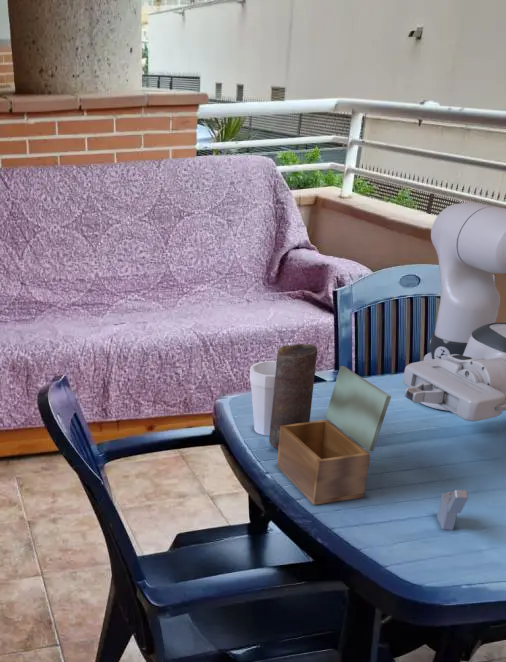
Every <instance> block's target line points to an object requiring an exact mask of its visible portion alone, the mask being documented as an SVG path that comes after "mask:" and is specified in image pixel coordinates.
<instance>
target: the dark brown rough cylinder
mask: <svg viewBox="0 0 506 662" xmlns="http://www.w3.org/2000/svg"><path fill="white" fill-rule="evenodd" d="M318 350H319V349H318V347H317V346H315V345H314V344H312V343H304V344H303V343H296V344H292V345H289V344H288V345H282V346H280V347H279V348H278V350H277V353H276V354H277V355H276V361H277V362H276V373H275V384H274V396H273V405H272V416H271V425H270V436H269V435H268V437H269V439H268V441H269V444H270V446H271V447H273V449H277V450H278V446H279V434H280V426H283V425H290V424H297V423H305V422H311V415H312V414H311V412H312V403H313V392H314V386H315V385H314V384H315V376H316V367H317V366H316V365H317V361H318Z"/></svg>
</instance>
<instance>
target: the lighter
mask: <svg viewBox="0 0 506 662" xmlns="http://www.w3.org/2000/svg"><path fill="white" fill-rule="evenodd" d="M468 499H469V494H468V491H467V490H466V489H465V490H462V489H457V490H456V489H455V490H454V491H446V492H445V493H444V492H443V493H441V497H440V501H439V504H438V505H439V506H438V510H437V515H436V519H437V521H438V523H439V525H440V527H441V530H444V531H445V530H446V531H447V530H448V531H453V530H455V525H456V521H457V516H458V514H461V513H462V511H463V509H464V508H465V505H466V503H467V502H468Z"/></svg>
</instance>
